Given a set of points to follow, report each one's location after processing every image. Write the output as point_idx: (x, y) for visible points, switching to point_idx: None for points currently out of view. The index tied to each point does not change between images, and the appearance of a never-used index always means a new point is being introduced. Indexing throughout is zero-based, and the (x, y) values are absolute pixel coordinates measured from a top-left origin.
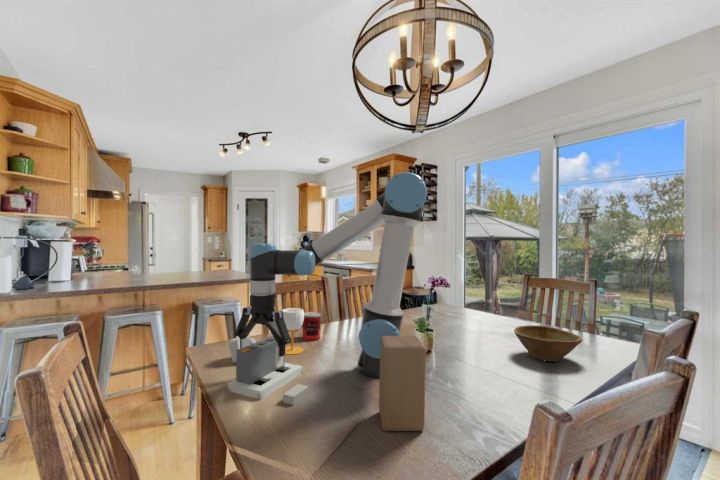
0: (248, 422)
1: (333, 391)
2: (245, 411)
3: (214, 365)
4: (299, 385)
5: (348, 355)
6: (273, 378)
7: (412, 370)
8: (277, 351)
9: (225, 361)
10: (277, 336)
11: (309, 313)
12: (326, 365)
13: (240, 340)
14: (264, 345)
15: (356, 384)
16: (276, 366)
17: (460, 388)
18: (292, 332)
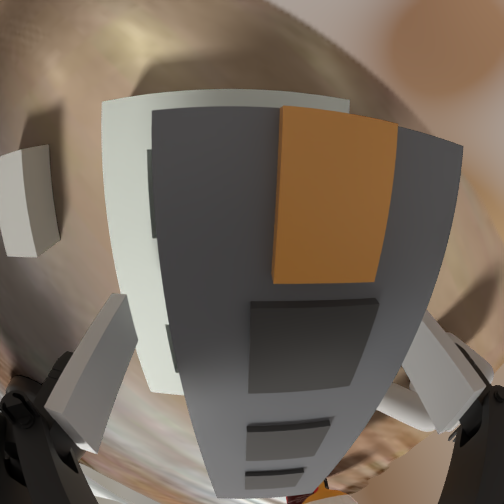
0: (88, 4)
1: (18, 300)
2: (137, 30)
3: (484, 292)
4: (25, 247)
5: (160, 458)
6: (152, 256)
7: None
8: (63, 372)
9: (466, 327)
10: (30, 488)
11: None
12: (156, 423)
13: (484, 380)
14: (222, 428)
15: (21, 349)
16: (115, 299)
17: None
18: (318, 492)
